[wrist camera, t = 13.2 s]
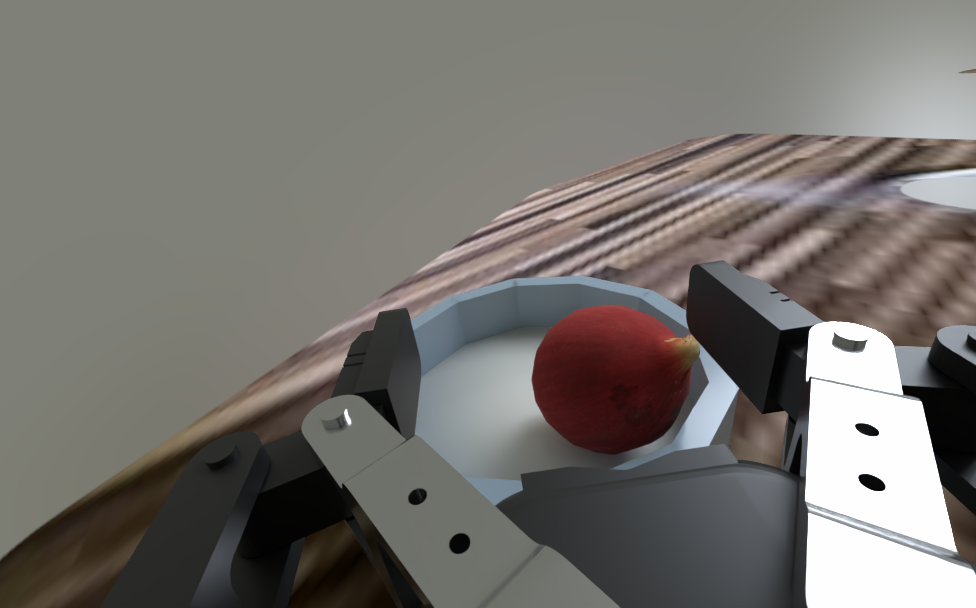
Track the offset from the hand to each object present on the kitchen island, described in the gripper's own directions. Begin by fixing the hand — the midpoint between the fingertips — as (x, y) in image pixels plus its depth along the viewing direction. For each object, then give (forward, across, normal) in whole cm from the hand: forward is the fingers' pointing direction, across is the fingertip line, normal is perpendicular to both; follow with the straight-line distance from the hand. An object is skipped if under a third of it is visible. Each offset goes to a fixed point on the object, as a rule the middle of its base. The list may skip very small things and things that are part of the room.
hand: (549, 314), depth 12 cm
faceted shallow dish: (+6, 0, +10) cm, 11 cm away
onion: (+6, 0, +8) cm, 9 cm away
